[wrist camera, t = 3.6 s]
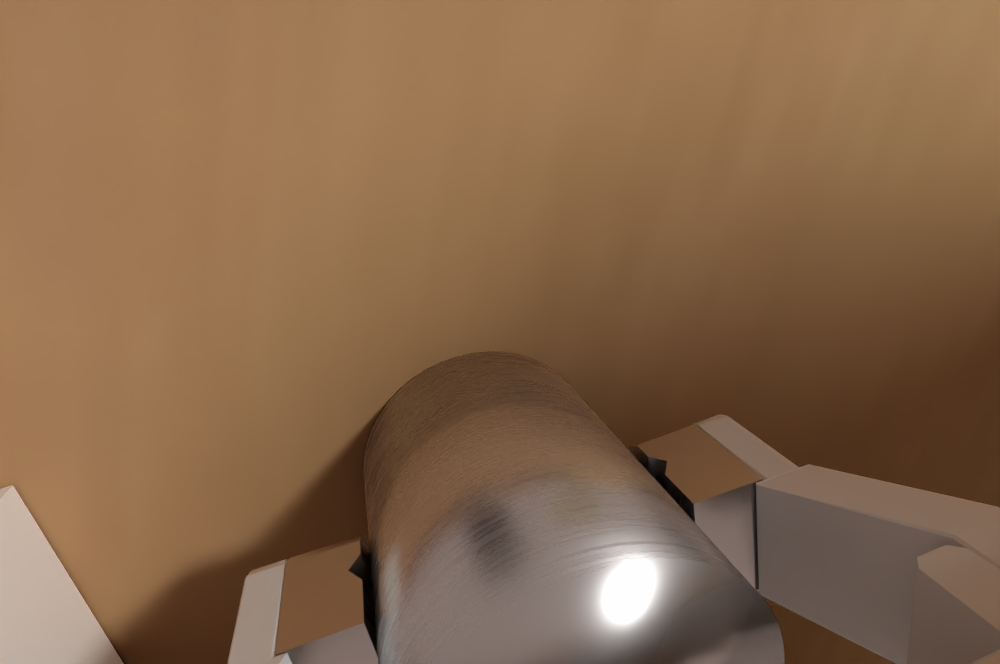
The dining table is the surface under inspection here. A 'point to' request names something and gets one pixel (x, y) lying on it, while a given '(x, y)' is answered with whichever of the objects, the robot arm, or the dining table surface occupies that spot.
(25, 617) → the scale
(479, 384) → the cylinder
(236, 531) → the dining table surface
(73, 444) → the dining table surface
